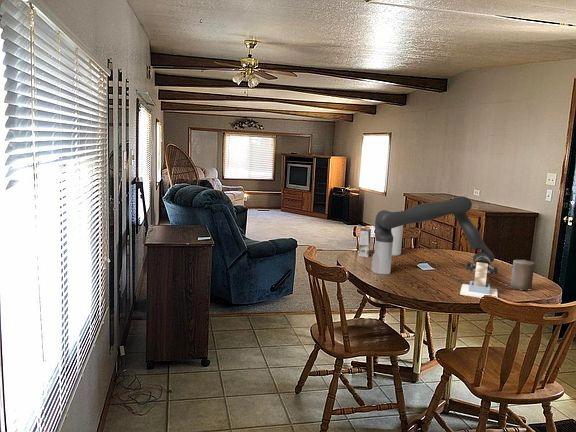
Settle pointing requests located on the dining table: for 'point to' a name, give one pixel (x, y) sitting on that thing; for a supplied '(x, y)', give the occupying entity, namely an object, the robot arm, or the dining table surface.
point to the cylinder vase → (397, 240)
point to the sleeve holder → (477, 290)
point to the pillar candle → (522, 274)
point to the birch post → (480, 274)
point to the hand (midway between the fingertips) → (481, 271)
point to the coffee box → (364, 242)
